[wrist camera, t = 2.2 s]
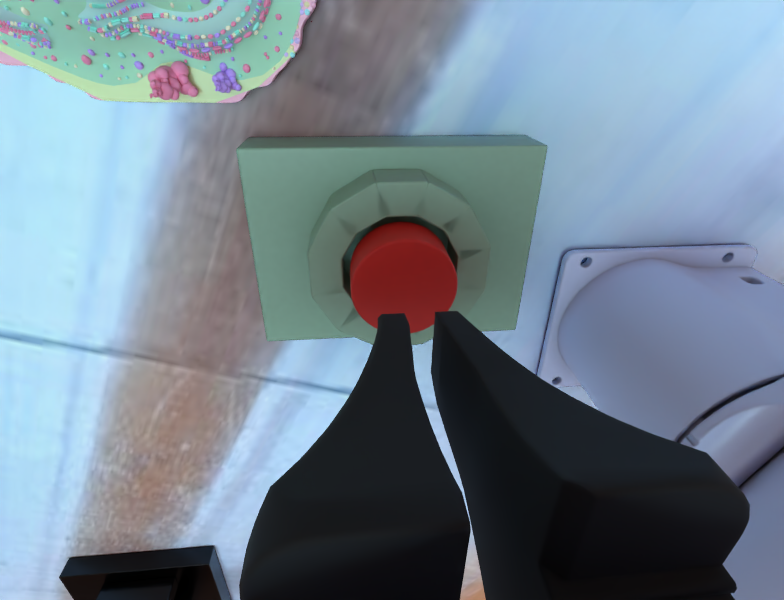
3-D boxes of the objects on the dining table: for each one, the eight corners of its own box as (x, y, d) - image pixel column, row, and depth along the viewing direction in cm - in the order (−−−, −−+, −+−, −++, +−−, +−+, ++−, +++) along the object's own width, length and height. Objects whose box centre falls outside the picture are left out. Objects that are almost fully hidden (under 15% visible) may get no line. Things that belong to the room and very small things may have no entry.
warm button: (451, 219, 15) (462, 237, 14) (444, 307, 17) (454, 332, 16) (347, 221, 15) (348, 241, 14) (351, 311, 17) (352, 337, 15)
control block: (526, 134, 18) (570, 155, 14) (501, 305, 22) (530, 354, 18) (247, 137, 17) (222, 160, 13) (273, 315, 21) (259, 368, 17)
